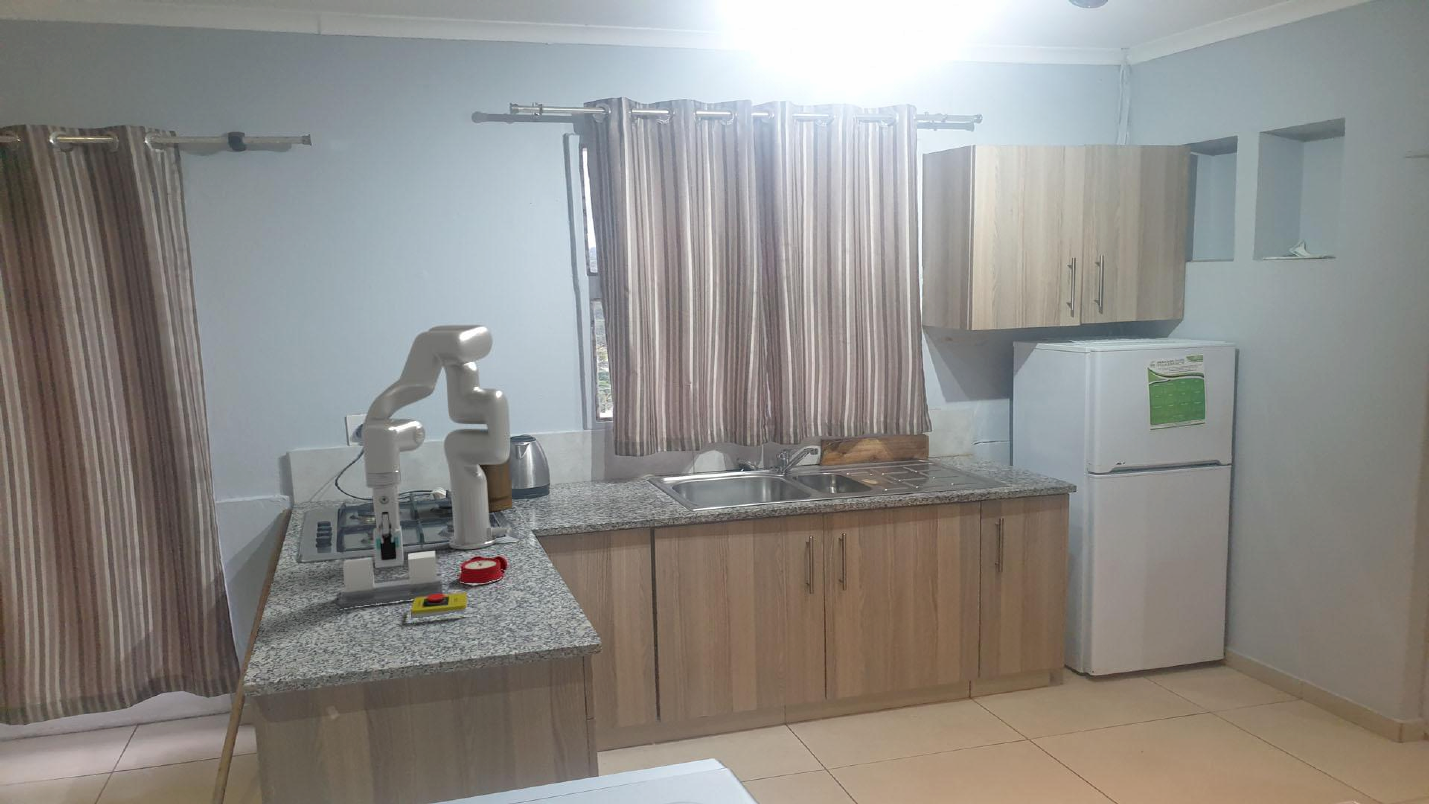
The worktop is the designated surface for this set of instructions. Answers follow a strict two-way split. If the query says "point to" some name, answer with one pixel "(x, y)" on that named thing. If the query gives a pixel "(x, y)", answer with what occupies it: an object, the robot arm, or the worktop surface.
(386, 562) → the block
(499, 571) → the alarm clock
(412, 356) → the robot arm
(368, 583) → the mounted modules
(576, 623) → the worktop surface
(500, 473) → the wooden container
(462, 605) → the emergency button
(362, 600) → the board
